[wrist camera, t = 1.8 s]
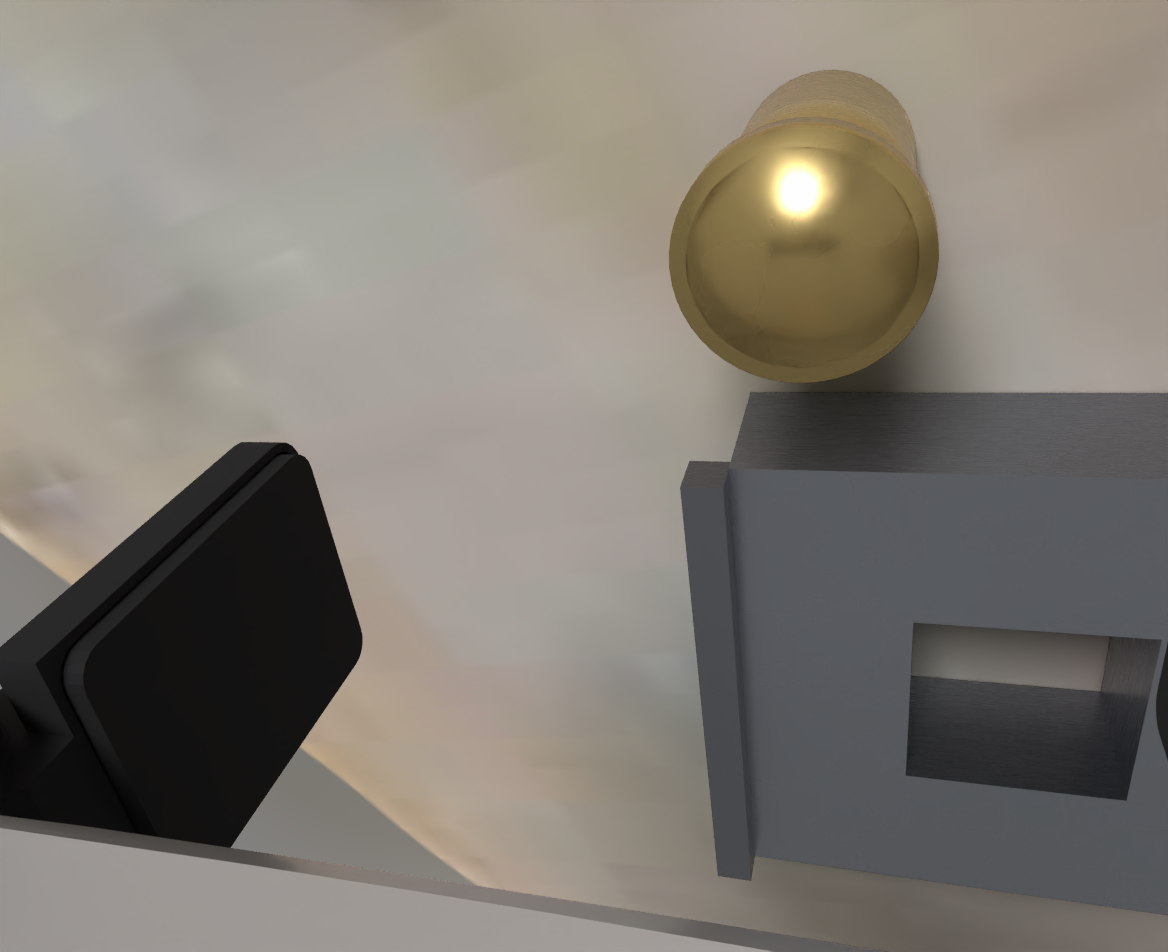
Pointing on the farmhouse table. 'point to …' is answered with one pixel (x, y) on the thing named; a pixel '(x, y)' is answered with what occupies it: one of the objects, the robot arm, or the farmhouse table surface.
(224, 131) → the farmhouse table surface
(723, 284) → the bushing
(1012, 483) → the jig
